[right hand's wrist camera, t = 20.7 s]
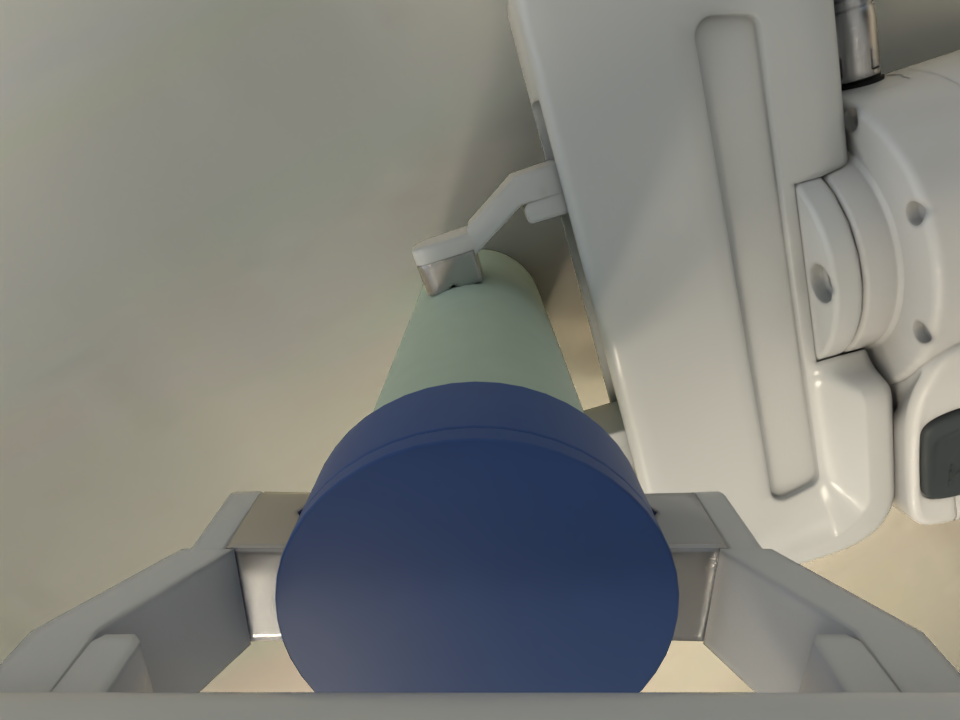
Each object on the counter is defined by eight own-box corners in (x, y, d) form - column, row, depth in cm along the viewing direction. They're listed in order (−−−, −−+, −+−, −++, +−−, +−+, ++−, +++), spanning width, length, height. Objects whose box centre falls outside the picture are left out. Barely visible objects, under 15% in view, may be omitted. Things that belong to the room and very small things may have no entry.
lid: (679, 401, 9) (727, 464, 8) (608, 670, 11) (633, 771, 10) (313, 361, 9) (272, 416, 7) (308, 643, 11) (275, 741, 9)
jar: (463, 387, 25) (439, 726, 11) (394, 293, 24) (256, 536, 9) (563, 326, 24) (687, 607, 10) (497, 223, 23) (526, 373, 8)
